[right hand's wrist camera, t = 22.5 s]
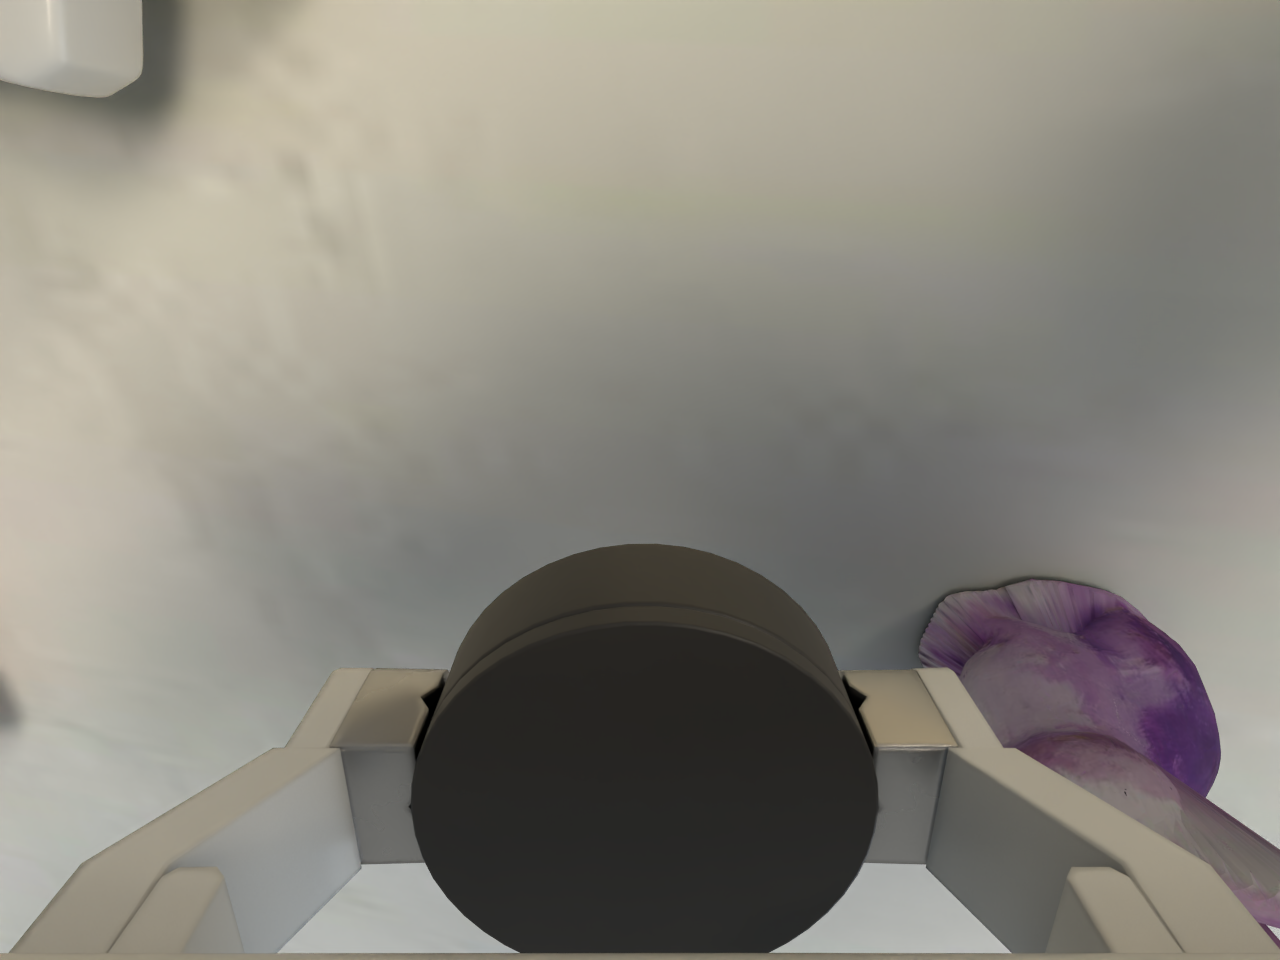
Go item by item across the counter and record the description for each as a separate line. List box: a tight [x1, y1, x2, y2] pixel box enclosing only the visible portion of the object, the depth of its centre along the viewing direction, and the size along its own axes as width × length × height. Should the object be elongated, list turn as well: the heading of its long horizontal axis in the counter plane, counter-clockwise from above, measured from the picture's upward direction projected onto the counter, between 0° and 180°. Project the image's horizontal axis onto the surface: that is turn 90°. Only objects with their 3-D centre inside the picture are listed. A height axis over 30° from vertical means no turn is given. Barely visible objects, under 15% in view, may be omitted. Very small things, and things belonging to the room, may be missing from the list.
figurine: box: [918, 579, 1280, 949], centre depth 26 cm, size 9×10×15 cm
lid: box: [411, 544, 879, 953], centre depth 9 cm, size 5×5×2 cm
